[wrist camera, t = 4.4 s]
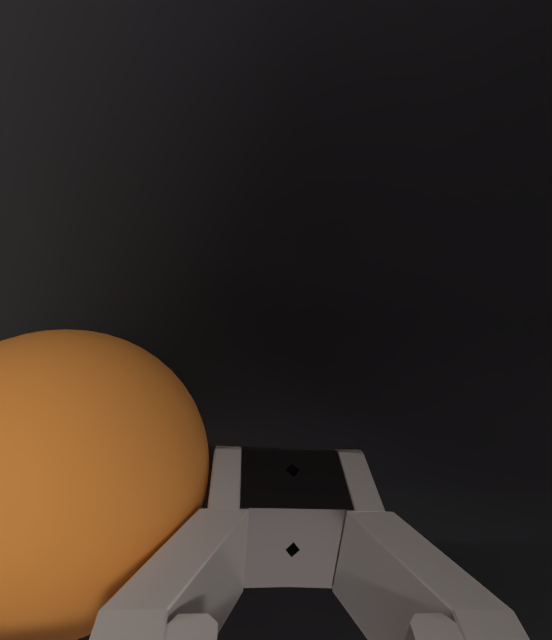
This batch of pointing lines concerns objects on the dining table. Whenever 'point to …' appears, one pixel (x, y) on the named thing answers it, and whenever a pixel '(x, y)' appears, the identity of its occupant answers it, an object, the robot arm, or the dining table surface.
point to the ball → (88, 474)
